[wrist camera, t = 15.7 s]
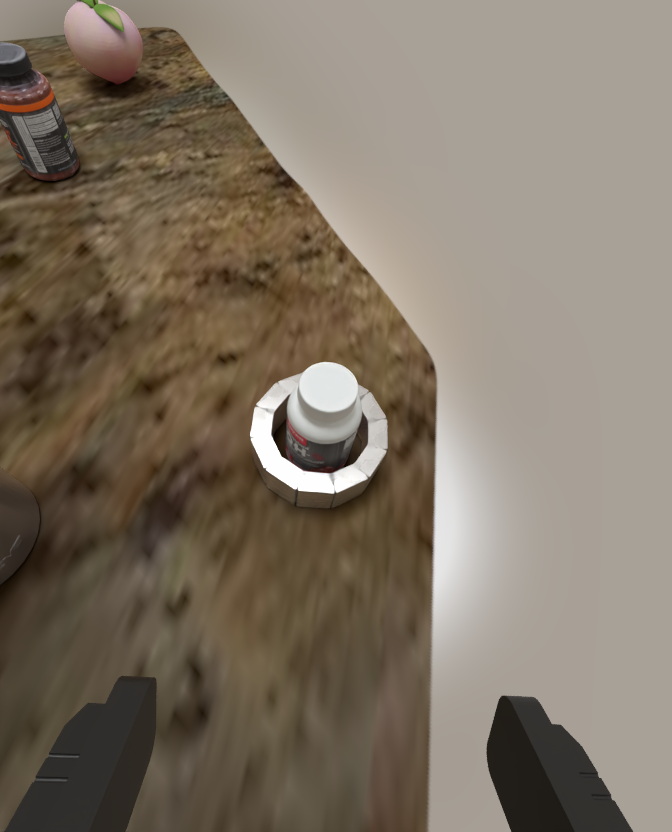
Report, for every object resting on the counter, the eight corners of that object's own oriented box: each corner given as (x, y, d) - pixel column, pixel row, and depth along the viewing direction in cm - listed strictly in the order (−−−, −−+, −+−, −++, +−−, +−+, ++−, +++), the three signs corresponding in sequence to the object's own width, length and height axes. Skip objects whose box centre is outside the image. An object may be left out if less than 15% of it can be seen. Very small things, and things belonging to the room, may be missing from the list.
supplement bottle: (19, 159, 52) (-41, 40, 42) (72, 149, 54) (27, 33, 44) (33, 188, 50) (-27, 70, 40) (88, 176, 52) (44, 61, 42)
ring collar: (227, 460, 36) (223, 441, 33) (301, 375, 41) (303, 352, 38) (336, 533, 34) (341, 520, 31) (400, 435, 39) (410, 415, 36)
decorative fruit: (66, 83, 61) (31, -14, 52) (112, 63, 65) (87, -30, 56) (118, 109, 59) (91, 13, 50) (162, 87, 63) (144, -5, 54)
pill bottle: (275, 466, 36) (274, 403, 28) (299, 413, 39) (305, 342, 31) (337, 489, 36) (355, 432, 27) (357, 434, 39) (379, 367, 30)
